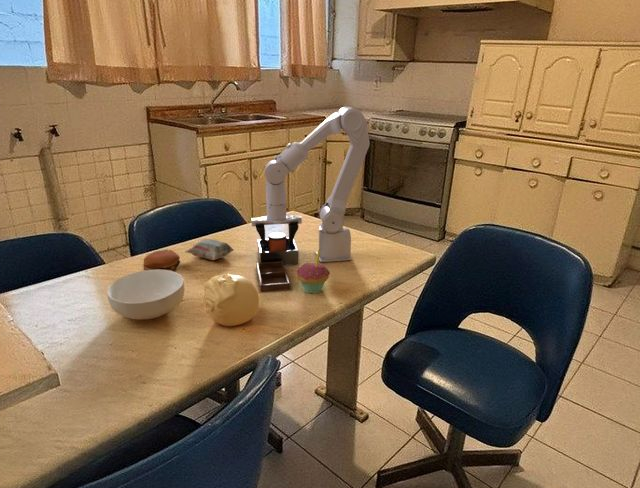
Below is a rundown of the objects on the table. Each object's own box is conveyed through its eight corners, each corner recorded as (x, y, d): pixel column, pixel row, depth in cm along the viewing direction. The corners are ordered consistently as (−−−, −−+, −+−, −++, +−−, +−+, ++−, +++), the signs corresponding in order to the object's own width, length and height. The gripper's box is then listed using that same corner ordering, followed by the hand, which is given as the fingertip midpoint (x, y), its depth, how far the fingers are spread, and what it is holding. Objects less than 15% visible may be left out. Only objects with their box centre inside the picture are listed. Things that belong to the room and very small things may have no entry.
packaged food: (214, 266, 131) (213, 250, 129) (185, 257, 137) (183, 242, 135) (234, 256, 138) (234, 241, 136) (206, 249, 144) (204, 234, 142)
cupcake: (334, 286, 120) (335, 243, 116) (320, 299, 113) (320, 255, 108) (305, 280, 123) (305, 238, 119) (290, 292, 116) (289, 249, 112)
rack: (282, 267, 131) (282, 261, 130) (289, 289, 118) (289, 283, 117) (256, 269, 130) (256, 263, 129) (260, 292, 116) (260, 285, 116)
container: (285, 253, 140) (284, 231, 137) (287, 259, 135) (287, 237, 132) (268, 254, 139) (267, 232, 136) (269, 260, 134) (269, 238, 131)
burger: (141, 276, 124) (138, 260, 122) (148, 263, 133) (146, 248, 131) (178, 274, 126) (176, 259, 124) (183, 261, 134) (181, 246, 132)
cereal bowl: (111, 301, 111) (106, 275, 108) (182, 290, 117) (179, 265, 114) (111, 337, 96) (105, 307, 94) (191, 321, 102) (188, 293, 100)
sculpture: (199, 314, 106) (195, 271, 102) (248, 302, 111) (246, 261, 107) (215, 337, 97) (211, 292, 92) (267, 323, 102) (265, 280, 98)
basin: (293, 250, 143) (292, 237, 141) (298, 264, 133) (298, 250, 131) (258, 253, 141) (257, 239, 139) (260, 267, 131) (260, 252, 129)
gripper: (251, 208, 126) (253, 253, 131) (303, 205, 128) (303, 250, 133) (250, 201, 132) (252, 245, 137) (299, 199, 135) (299, 242, 140)
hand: (277, 247), depth 136 cm, fingers open, 7 cm apart
